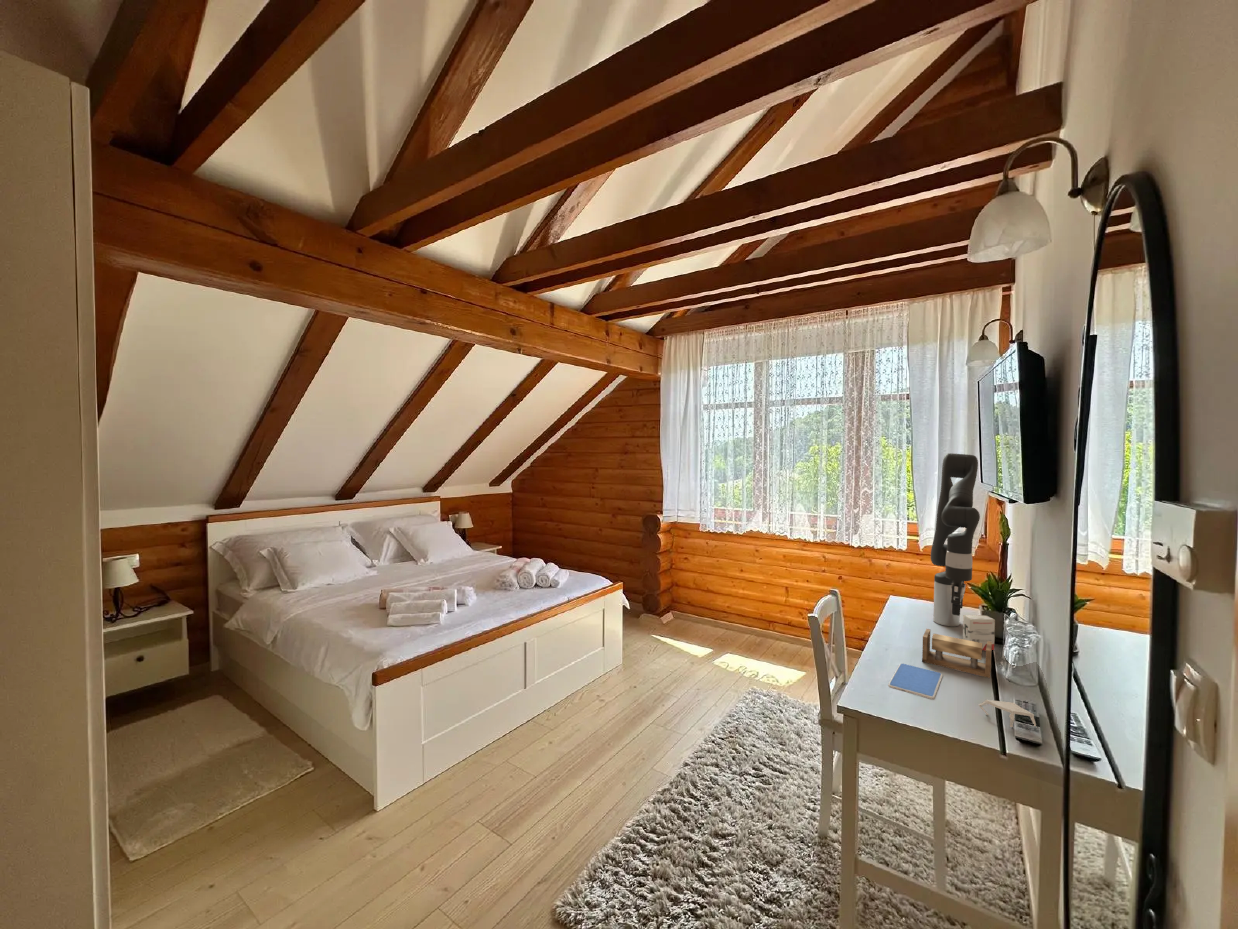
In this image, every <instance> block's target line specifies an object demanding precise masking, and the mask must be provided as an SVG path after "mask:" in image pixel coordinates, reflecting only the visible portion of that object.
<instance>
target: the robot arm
mask: <svg viewBox="0 0 1238 929" xmlns="http://www.w3.org/2000/svg"><path fill="white" fill-rule="evenodd" d="M978 469H979V460H978V457H977V456H975V455H973V454H965V453H964V454H963V453H953V452H952V453H946V454H945V455H944V457H943V459H942V466H941V480H940V481H941V483H940V493H939V498H938V505H937V511H936V522H935V530H934V536H933V541H932V545H931V550H930V561H931V564H933V565H934V566H937V567H945V571H941V572H937V573H935V574H934V579H933V580H934V581H933V583H934V585H933V614H932V615H933V618H932V620H933V622H934V623H936V624H938V625H942V626H945V627H958V626H960V623H961V622H960V617H961V609H963V603H964V597H965V594H966V593H965V592H966V586H967V585H966V583H965V582H970V581H972V579H973V542H974V541H973V539H974V534H975V533H976V530H977V528H978V524H979V522H980V519H981V518H980V517H981V515H980V512H979V511H978V509H976V508H974V507H973V505H974V488H975V485H976V481H977V475H978ZM952 478H955V479H960V480H959V481H957V482H956V483H954V484H953V482H952V481H953V480H952ZM959 528H961V529H963V528H965V530H963V531H962V532H957V533H955V532H956V531H957V530H958V529H959ZM945 542H946V543H945Z"/></svg>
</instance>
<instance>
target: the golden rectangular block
mask: <svg viewBox="0 0 1238 929" xmlns="http://www.w3.org/2000/svg"><path fill="white" fill-rule="evenodd" d="M931 650H934V651H936V650H938V651H942V652H943V653H947V654H948V653H949V654H952V655H957V656H961V657H966V658H970V659H971V658H974V659H978V661H981V660H982V658H983V650H982V643H979V642H974V641H969V640H964V639H963V638H958V637H954V636H949V635H943V634H938V633H933V634H932V637H931Z"/></svg>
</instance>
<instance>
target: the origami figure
mask: <svg viewBox="0 0 1238 929" xmlns="http://www.w3.org/2000/svg"><path fill="white" fill-rule="evenodd" d="M986 705H990V706H992V707H995V708H997V709H999V710H1002V711H1005V712H1007V713H1010V714H1009V716H1008V717H1009V718H1010V719H1009V728H1010V727H1013V728H1014V726H1013V725H1014V722H1015V719H1014V718H1015V715H1020V716H1027V717H1029V718H1030V720H1031V723H1032V725H1033V724H1034V725H1033V727H1034V726H1036V727H1037V724H1036V719H1035V714H1034V713H1032V712H1030V711H1028V710H1027V709H1025V708H1023V707H1021V706H1020V705H1018V704H1016V702H1010V701H1009V702H1008V701H1001V700H992V699H985V700H984V701H983V702H980V703H979V704H978V707H979V708H980V709H982V711H983V712H984V713H985V716H989V715H990V714H989V713H988V712H987V711H986V710H985V708H984V707H983V706H986Z"/></svg>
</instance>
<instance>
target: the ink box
mask: <svg viewBox="0 0 1238 929" xmlns="http://www.w3.org/2000/svg"><path fill="white" fill-rule="evenodd" d="M962 624H963V625H962V639H964V640H969V641H974V642H979V643H982V652H983V651H985V652H986V647H987V641H990V642H992V650H994V651H995V639H996V638H995V636H996V633H995V632H996V629H995V628H996V627H995V626H996V620H995V619H994V618H992V617H990V616H988V615H977V614H976V615H975V614H974V615H973V614H965V615H963V620H962Z"/></svg>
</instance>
